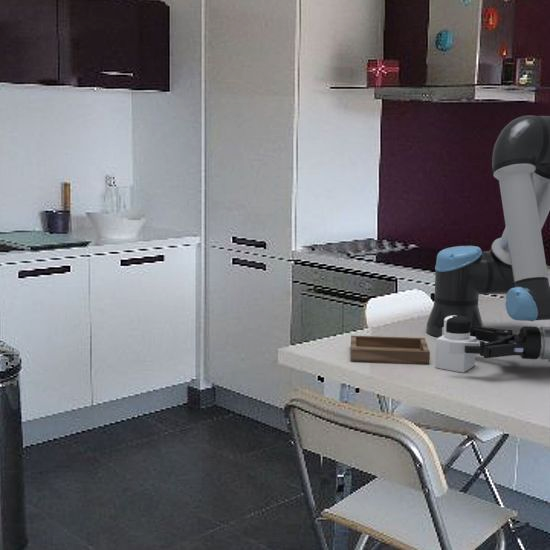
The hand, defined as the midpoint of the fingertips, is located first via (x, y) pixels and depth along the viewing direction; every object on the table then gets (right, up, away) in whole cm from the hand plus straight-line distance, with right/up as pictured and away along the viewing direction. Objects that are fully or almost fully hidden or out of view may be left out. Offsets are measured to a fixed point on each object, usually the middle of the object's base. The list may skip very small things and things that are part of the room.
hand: (445, 340), depth 196 cm
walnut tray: (-12, -5, +10) cm, 16 cm away
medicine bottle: (+2, -7, +1) cm, 7 cm away
